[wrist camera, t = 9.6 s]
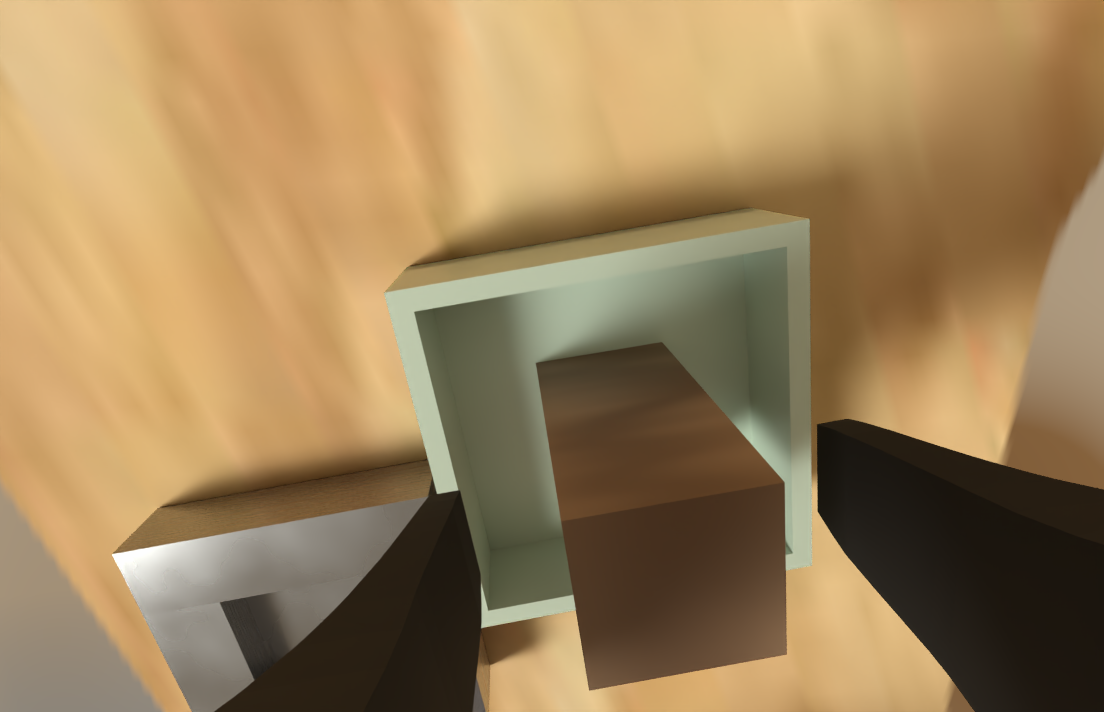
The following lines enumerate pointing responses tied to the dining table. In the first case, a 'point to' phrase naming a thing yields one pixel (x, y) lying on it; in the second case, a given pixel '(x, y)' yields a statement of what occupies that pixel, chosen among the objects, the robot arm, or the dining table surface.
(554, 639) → the dining table surface
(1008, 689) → the robot arm
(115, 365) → the dining table surface
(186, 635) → the socket block
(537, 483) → the bin
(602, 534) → the strut
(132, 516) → the dining table surface
